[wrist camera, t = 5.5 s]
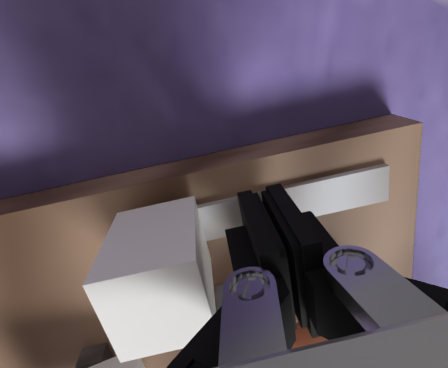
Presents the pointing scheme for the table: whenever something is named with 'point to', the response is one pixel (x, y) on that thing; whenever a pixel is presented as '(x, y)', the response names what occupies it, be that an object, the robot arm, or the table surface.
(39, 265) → the control panel
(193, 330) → the slider knob
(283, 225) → the robot arm
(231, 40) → the table surface
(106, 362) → the rocker switch
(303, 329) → the push button
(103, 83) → the table surface
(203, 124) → the table surface
